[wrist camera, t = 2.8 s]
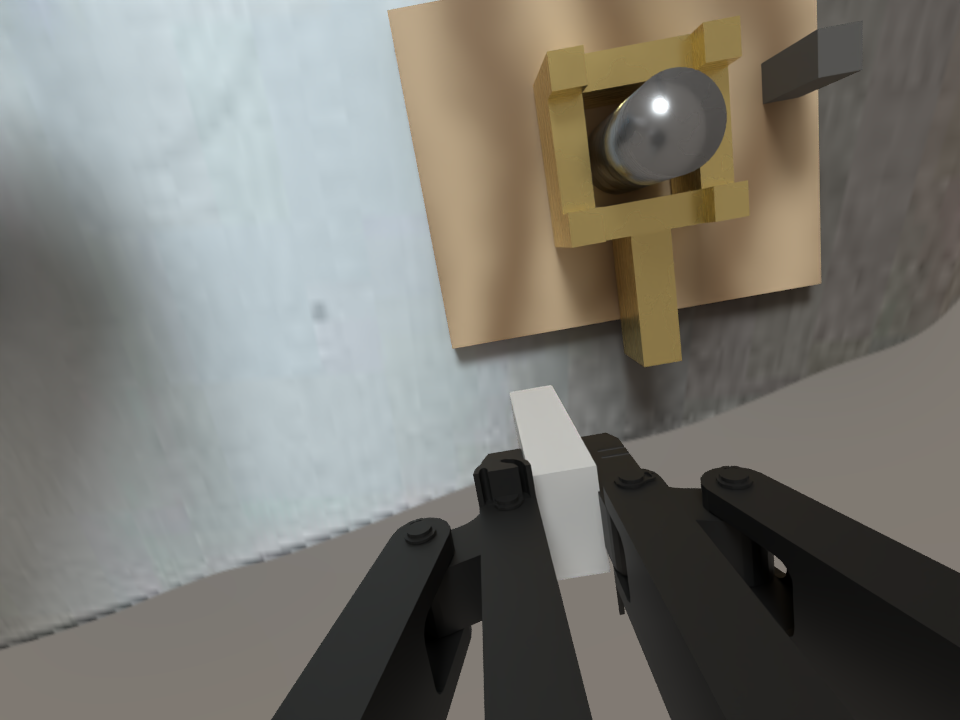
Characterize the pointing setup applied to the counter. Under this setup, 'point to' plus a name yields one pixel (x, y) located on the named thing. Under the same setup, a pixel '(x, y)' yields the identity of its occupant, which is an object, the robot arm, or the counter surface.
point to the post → (658, 132)
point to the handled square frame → (646, 223)
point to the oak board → (517, 147)
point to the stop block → (813, 62)
